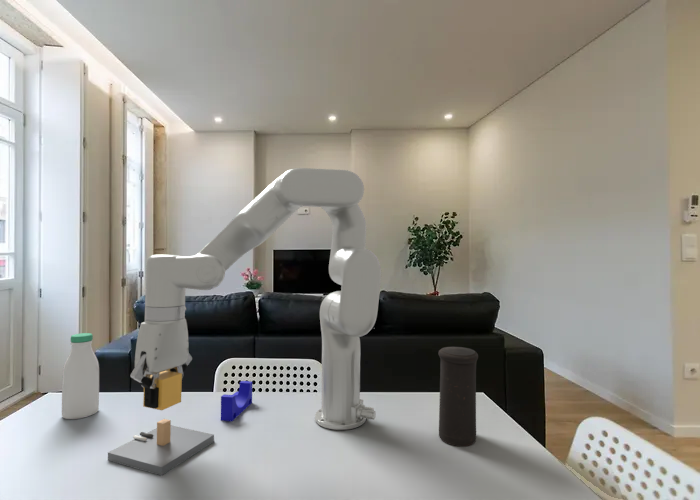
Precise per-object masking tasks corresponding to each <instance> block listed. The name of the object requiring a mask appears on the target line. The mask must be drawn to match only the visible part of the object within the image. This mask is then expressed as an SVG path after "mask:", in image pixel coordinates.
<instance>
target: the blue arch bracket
mask: <svg viewBox="0 0 700 500" xmlns="http://www.w3.org/2000/svg"><path fill="white" fill-rule="evenodd" d="M252 404H253V381H250V380H249V381H248V380H241V381H240V382H239V388H238V391H236V392H234V393H233V394H222V395H220V421H225V422H233V421H235V419H236V418H238V416H240V415H241V414H242V413H243V412H244V411H245V410H247V408H249V406H251V405H252Z"/></svg>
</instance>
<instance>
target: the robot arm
mask: <svg viewBox="0 0 700 500" xmlns="http://www.w3.org/2000/svg"><path fill="white" fill-rule="evenodd" d="M364 194H365V186H364V182H363V180H362V179H361V177H360V176H359V175H358V174H356V173H355V172H353V171H351V170H348V169H332V168H328V169H326V168H308V167H295V168H290V169H288V170H286V171H284V173H282V174H280V175H279V176H278V177H277V178H275V180H273V181H272V182H271V183H270V184H268V185H267V187H266V188H265V189H263V190H262V191H261V192H260V193H259V194H258V195H257V196H255V198H254V199H252V200H251V201H250V203H248V204H247V205H246V206H245V207H244V208H243V209H242V210H240V211H239V212H238V213H237V214H236V216H234V217H233V218H232V220H231V221H230V222H229V223H228V224H227V225H226V226H225V227H223V229H222V230H221V231H220V232H219V233H218V234H217V235H216V236H215V237H214V238H213V239H212V240H210V241H209V242H208V243H207V244H206V245H205V246H204V247H203V248H201V250H199V252H198V253H196V254H195V255H190V256H189V255H188V256H186V255H185V256H182V255H179V254H151V255H150V256H149V257H147V259H146V264H145V296H144V297H145V299H144V300H145V301H144V305H145V306H144V321H143V322H141V323H140V325H139V326H140V327H139V329H138V333H137V339H136V345H135V354H134V368H133V370H132V372H130V378H131V379H133V380H134V381H136V382H138V384H140V385H141V387H142V388H143V389H144V388H145V392H144V391H143V399H144V406H145V407H144V408H148V407H149V409H153V408H154V409H153V410H156V409H155V408H158V397H159V388H157V387H156V386H157V382H158V378H159V374H160V372H163V371H171V372H177V373H182V379H183V378H184V373H185V371H186V369H187V368H188V365H190V363H191V362H192V360H193V357H192V355H191V354H190V353H189V330H188V322H187V319H186V317H185V316H186V314H185V313H186V312H187V307H186V289H188V290H189V289H190V290H198V291H210V290H214V289H216V288H217V287H218V286H220V285H221V284H222V283H223V281H224V280H225V275H226V271H228V270H229V268H231V267H232V266H233V265H234V264H235V263H236V262H237V261H238V260H239V259H240V258H242V257H243V256H244V255H245V254H247V253H248V252H250V251H251V250H253V249H255V248H257V247H259V246H260V245H262V244H263V243H264V242H266V241H267V240H268V239H269V238H270V237H271V236H272V235H273V234H274V233H275V232H276V231H277V230H278V229H279V228H280V227H281V226H282V225H283V224H284V223H285V222H286V221H287V220H288V219H289V218H291V217H292V216H293V215H294V213H296V212H297V210H299V209H300V208H301V207H308V208H309V207H311V208H313V207H314V208H321V209H323V211H324V212H325V213H326V214H327V215H328V218H329V219H330V221H331V226H332V232H331V234H332V237H331V246H330V253H329V254H330V255H329V262H328V263H329V264H328V274H329V278H330V279H331V281H333V282H334V283H336V284H337V285H340V286H341V287H340V289H341V290H336V291H333V292H330V293H328V294H327V295H326V296H325V297H324V298H323V300H322V301H321V303H320V308H319V320H320V322H319V323H320V332H321V399H320V400H321V402H320V403H321V407H320V409H318V410H317V411H316V412H315V414H314V421H315V423H316V424H317V425H319V426H321V427H322V428H325V429H329V430H335V431H336V430H337V431H343V430H345V431H346V430H351V429H355V428H358V427H360V426H362V425H363V424H364V423H365V422H366V421H367V420H366V419H368V420H375V419H376V416H377V412H376V410H375V408H374V407H370V406H366V405H365V404H364V399H360V398H361V394H360V393H361V392H360V391H361V339H360V337H363V336H365V335H367V334H368V333H369V332H370V331H371V330H373V328H374V326H375V324H376V321H377V318H378V311H379V300H380V294H381V283H382V267H381V262H380V260H379V258H378V257H377V255H376V254H375V253H374V252H373V251H372V250H370V249H368V248H366V245H367V244H366V243H367V223H366V218H365V215H364V213H363V211H362V208H361V207H360V205H359V203H360V202H361V200H362V199H363V197H364ZM150 375H152V379H151V380H150Z"/></svg>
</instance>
